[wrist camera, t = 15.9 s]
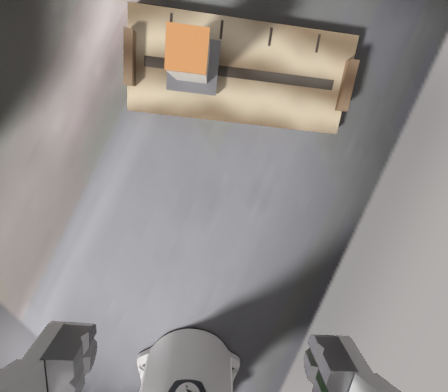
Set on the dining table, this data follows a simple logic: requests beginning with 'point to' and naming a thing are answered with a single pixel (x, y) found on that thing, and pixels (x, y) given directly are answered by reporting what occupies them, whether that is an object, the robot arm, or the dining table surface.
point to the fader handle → (191, 59)
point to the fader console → (245, 71)
